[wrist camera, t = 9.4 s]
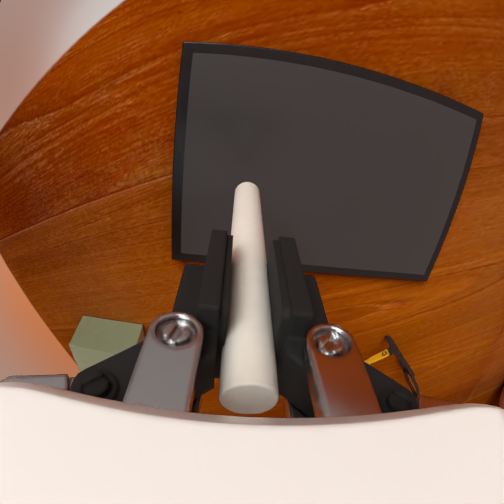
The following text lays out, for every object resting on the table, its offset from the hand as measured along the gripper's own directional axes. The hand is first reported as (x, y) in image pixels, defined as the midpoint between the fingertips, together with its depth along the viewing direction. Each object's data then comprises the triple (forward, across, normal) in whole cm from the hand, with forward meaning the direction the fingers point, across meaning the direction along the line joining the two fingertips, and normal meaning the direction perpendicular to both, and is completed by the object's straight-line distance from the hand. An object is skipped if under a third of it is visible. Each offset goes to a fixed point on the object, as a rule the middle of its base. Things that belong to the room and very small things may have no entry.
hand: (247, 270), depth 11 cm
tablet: (+14, -7, 0) cm, 15 cm away
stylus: (+9, 0, 0) cm, 9 cm away
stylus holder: (+14, +12, +21) cm, 28 cm away
